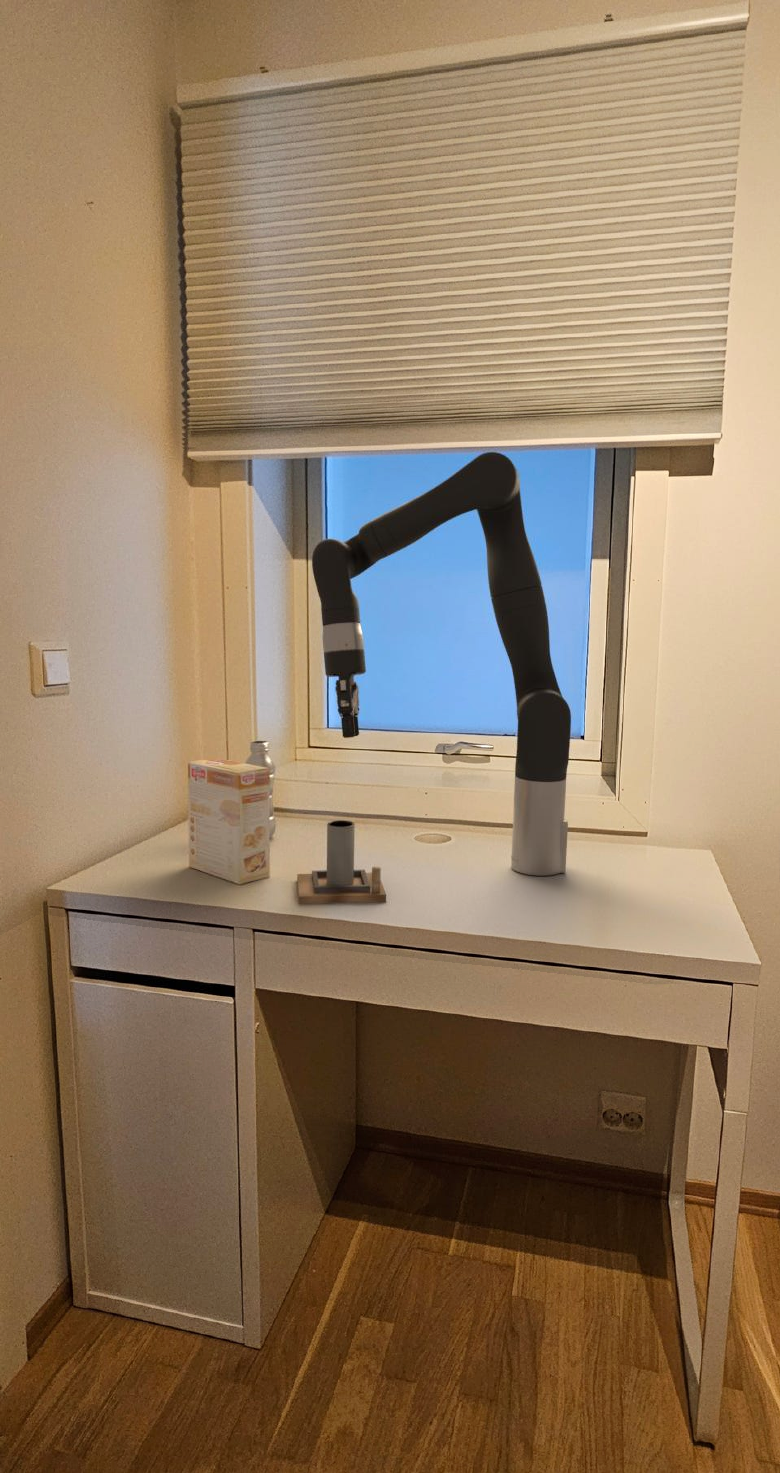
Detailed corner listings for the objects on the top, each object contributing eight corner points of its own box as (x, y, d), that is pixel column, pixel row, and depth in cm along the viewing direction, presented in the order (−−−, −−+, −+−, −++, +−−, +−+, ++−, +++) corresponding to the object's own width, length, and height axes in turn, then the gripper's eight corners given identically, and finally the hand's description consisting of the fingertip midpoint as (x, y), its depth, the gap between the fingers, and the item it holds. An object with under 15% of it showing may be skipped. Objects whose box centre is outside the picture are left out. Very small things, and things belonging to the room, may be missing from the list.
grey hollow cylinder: (349, 888, 139) (350, 827, 138) (323, 886, 140) (324, 825, 139) (356, 880, 144) (357, 821, 142) (330, 878, 145) (331, 819, 143)
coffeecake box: (271, 877, 149) (271, 767, 146) (238, 885, 144) (238, 772, 141) (219, 859, 159) (218, 756, 156) (187, 867, 153) (186, 761, 151)
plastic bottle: (282, 837, 176) (282, 741, 173) (261, 844, 170) (260, 745, 167) (258, 832, 179) (258, 738, 176) (236, 839, 173) (236, 742, 170)
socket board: (377, 879, 149) (378, 850, 148) (386, 901, 137) (386, 870, 136) (297, 880, 147) (297, 851, 146) (298, 903, 135) (299, 872, 134)
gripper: (360, 644, 150) (368, 736, 150) (366, 650, 164) (374, 734, 164) (318, 648, 150) (326, 740, 150) (328, 654, 164) (335, 737, 165)
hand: (351, 736), depth 157 cm, fingers open, 8 cm apart
